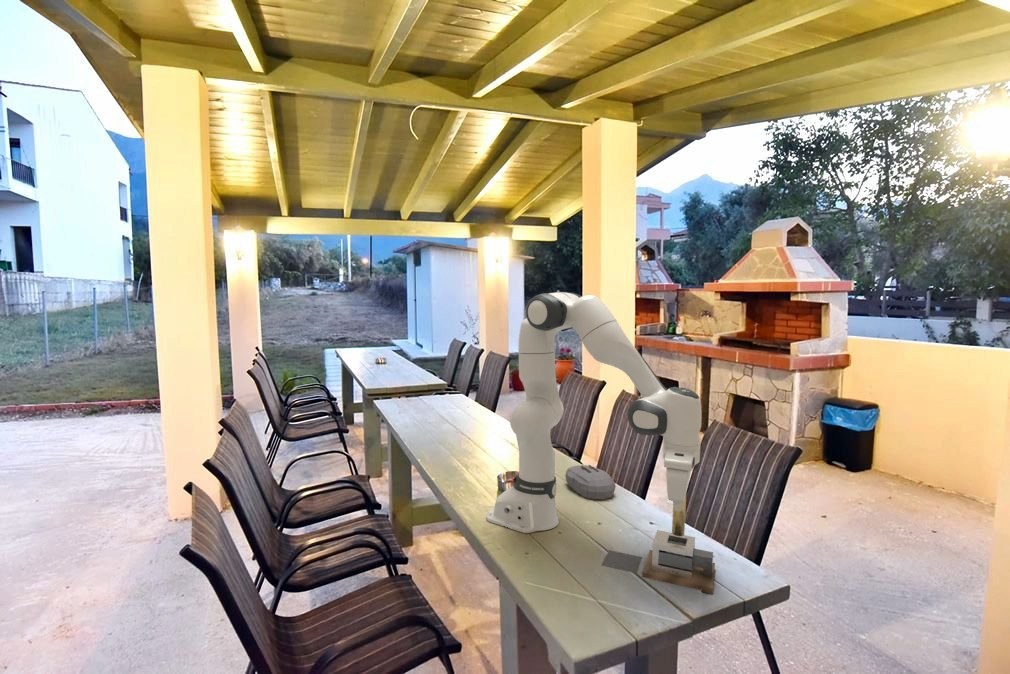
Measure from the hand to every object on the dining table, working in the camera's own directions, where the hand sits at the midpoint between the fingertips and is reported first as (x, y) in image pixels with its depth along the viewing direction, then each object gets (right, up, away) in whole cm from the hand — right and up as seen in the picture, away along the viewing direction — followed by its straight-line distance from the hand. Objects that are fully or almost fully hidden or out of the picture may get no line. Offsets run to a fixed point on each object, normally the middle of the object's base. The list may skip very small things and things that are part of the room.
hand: (678, 506), depth 132 cm
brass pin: (0, -7, +1) cm, 7 cm away
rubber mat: (-13, -17, +6) cm, 22 cm away
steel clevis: (+1, -16, +1) cm, 16 cm away
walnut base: (0, -17, +1) cm, 18 cm away
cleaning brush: (-13, -13, +57) cm, 60 cm away
